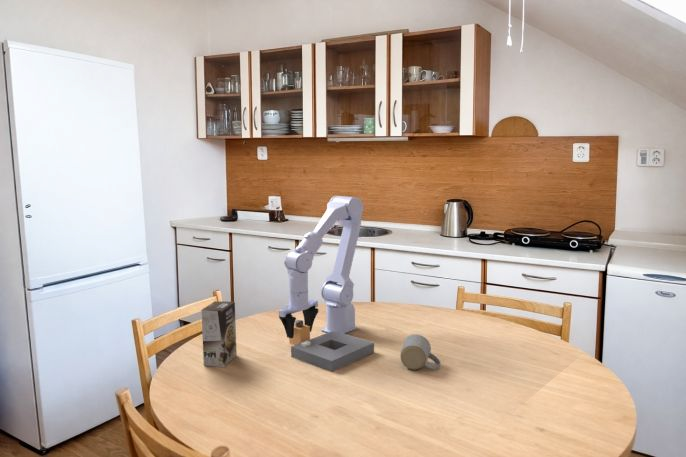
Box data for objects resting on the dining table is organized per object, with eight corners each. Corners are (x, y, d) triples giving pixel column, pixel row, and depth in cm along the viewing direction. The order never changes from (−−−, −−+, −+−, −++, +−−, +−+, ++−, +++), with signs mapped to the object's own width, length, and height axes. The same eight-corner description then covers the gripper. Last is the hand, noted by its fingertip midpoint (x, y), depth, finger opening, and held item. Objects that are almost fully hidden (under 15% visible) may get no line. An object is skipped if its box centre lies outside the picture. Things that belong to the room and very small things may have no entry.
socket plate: (334, 339, 166) (333, 328, 166) (374, 352, 156) (374, 340, 155) (291, 356, 153) (290, 343, 153) (331, 371, 143) (331, 358, 142)
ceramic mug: (399, 369, 144) (399, 342, 142) (403, 358, 151) (404, 332, 150) (438, 374, 141) (439, 346, 140) (441, 362, 149) (442, 336, 148)
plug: (298, 339, 167) (298, 318, 166) (310, 343, 164) (309, 321, 163) (289, 343, 164) (288, 321, 163) (300, 347, 161) (300, 324, 160)
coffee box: (224, 367, 146) (222, 310, 143) (202, 366, 147) (200, 309, 145) (237, 355, 155) (235, 301, 152) (217, 353, 156) (214, 300, 154)
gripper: (306, 284, 169) (307, 325, 171) (271, 293, 159) (272, 337, 161) (322, 288, 165) (323, 330, 167) (287, 297, 154) (288, 342, 156)
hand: (299, 334), depth 163 cm, fingers open, 7 cm apart
